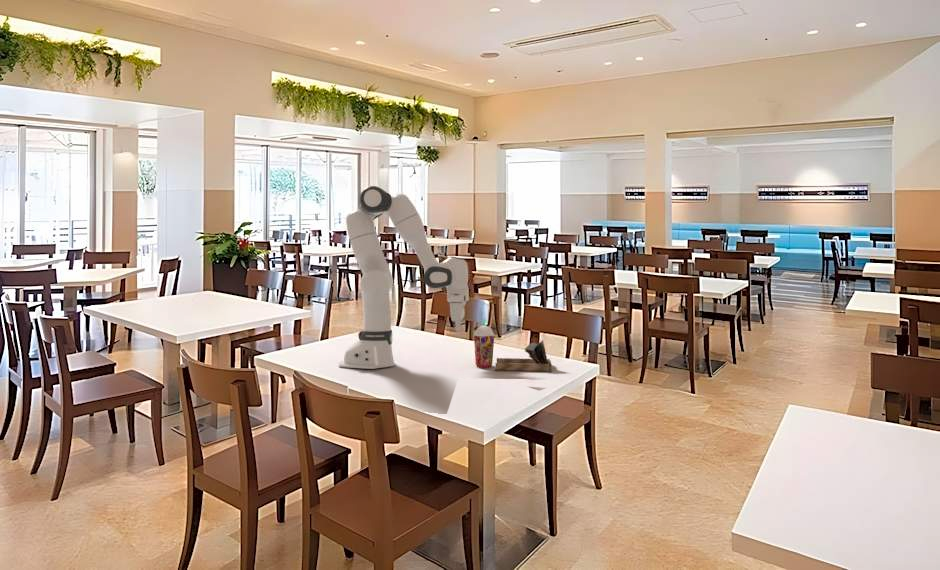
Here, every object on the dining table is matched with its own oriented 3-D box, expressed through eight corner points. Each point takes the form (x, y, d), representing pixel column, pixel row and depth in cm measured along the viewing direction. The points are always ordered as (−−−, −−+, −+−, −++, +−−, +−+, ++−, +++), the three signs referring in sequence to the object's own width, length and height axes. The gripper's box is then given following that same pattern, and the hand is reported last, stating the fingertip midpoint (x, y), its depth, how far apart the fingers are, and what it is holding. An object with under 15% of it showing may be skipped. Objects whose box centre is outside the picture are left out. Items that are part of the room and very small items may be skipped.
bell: (535, 366, 257) (535, 337, 256) (548, 368, 252) (548, 339, 251) (519, 369, 250) (520, 339, 250) (533, 371, 245) (533, 341, 245)
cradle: (495, 370, 245) (495, 363, 244) (496, 365, 259) (496, 358, 258) (551, 372, 243) (551, 364, 243) (549, 366, 257) (549, 359, 257)
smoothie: (492, 369, 247) (492, 320, 246) (471, 369, 249) (472, 319, 248) (495, 366, 255) (496, 318, 255) (475, 365, 257) (476, 317, 256)
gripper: (452, 295, 262) (453, 327, 263) (447, 298, 242) (448, 333, 243) (467, 295, 262) (468, 327, 262) (463, 297, 242) (464, 333, 242)
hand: (458, 330), depth 252 cm, fingers closed
